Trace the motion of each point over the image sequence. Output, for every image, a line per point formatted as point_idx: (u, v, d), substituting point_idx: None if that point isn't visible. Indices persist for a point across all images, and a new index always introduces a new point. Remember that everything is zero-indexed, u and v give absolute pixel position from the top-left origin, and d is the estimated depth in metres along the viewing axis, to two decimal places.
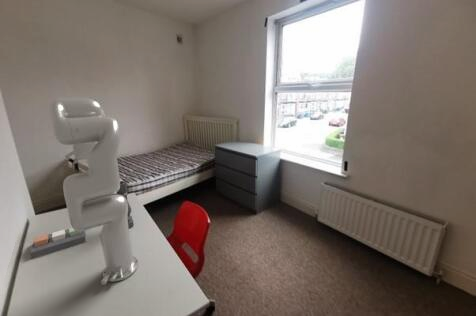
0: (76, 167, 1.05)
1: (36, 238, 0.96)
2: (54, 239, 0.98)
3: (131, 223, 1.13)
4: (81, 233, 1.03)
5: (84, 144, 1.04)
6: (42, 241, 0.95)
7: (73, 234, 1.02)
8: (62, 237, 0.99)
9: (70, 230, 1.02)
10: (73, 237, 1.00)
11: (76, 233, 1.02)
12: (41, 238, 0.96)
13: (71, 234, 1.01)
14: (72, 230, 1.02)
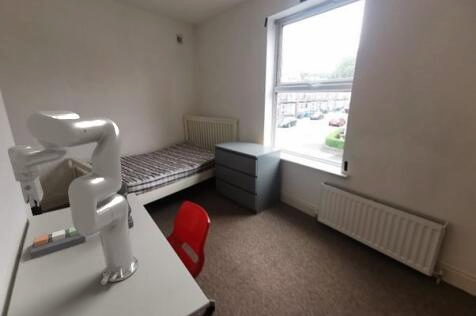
0: (38, 210, 0.93)
1: (36, 238, 0.96)
2: (54, 239, 0.98)
3: (131, 223, 1.13)
4: None
5: (38, 182, 0.91)
6: (42, 241, 0.95)
7: (73, 234, 1.02)
8: (62, 237, 0.99)
9: (70, 230, 1.02)
10: (73, 237, 1.00)
11: (76, 233, 1.02)
12: (41, 238, 0.96)
13: (71, 234, 1.01)
14: (72, 230, 1.02)
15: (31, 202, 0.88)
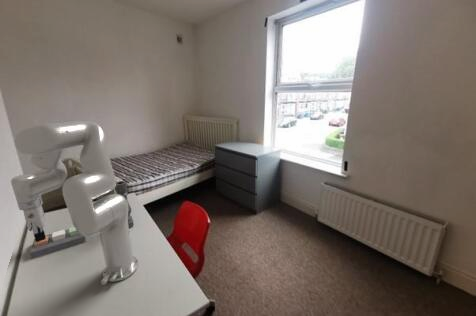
0: (41, 236, 0.96)
1: None
2: (54, 239, 0.98)
3: (131, 223, 1.13)
4: None
5: (41, 209, 0.94)
6: (42, 243, 0.95)
7: (73, 234, 1.02)
8: (62, 237, 0.99)
9: (70, 230, 1.02)
10: (73, 237, 1.00)
11: (76, 233, 1.02)
12: (41, 240, 0.96)
13: (71, 234, 1.01)
14: (72, 230, 1.02)
15: (34, 229, 0.90)
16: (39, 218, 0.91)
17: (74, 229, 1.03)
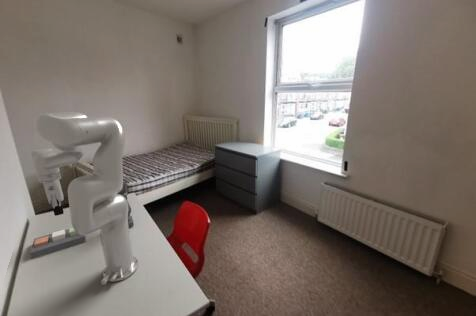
0: (60, 210, 0.98)
1: (37, 240, 0.96)
2: (54, 239, 0.98)
3: (131, 223, 1.13)
4: None
5: (59, 183, 0.96)
6: (43, 243, 0.95)
7: (73, 234, 1.02)
8: (62, 237, 0.99)
9: (70, 230, 1.02)
10: (73, 237, 1.00)
11: (76, 233, 1.02)
12: (41, 240, 0.96)
13: (71, 234, 1.01)
14: (72, 230, 1.02)
15: (54, 202, 0.92)
16: (59, 191, 0.93)
17: None
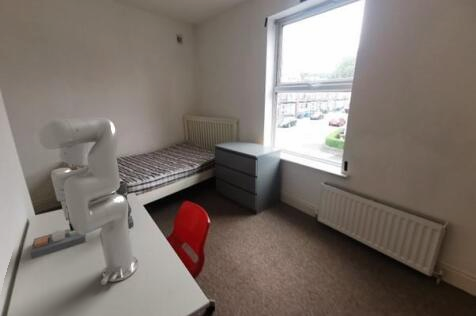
0: None
1: (37, 240, 0.96)
2: (54, 239, 0.98)
3: (131, 223, 1.13)
4: None
5: None
6: (43, 243, 0.95)
7: (73, 235, 1.02)
8: (62, 237, 0.99)
9: (70, 231, 1.02)
10: (73, 237, 1.00)
11: (76, 234, 1.02)
12: (41, 240, 0.96)
13: (71, 235, 1.01)
14: (72, 231, 1.02)
15: None
16: None
17: (74, 230, 1.03)
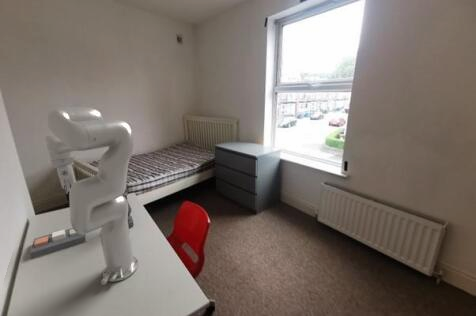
0: None
1: (37, 240, 0.96)
2: (54, 239, 0.98)
3: (131, 223, 1.13)
4: None
5: (72, 169, 0.96)
6: (43, 243, 0.95)
7: None
8: (62, 237, 0.99)
9: (70, 232, 1.02)
10: (73, 237, 1.00)
11: None
12: (41, 240, 0.96)
13: (71, 236, 1.01)
14: (72, 232, 1.02)
15: (68, 187, 0.92)
16: (72, 176, 0.93)
17: (74, 231, 1.03)
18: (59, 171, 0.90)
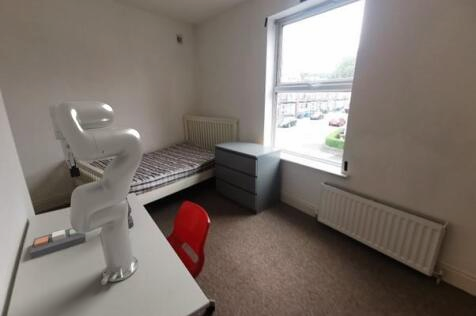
0: (77, 172, 0.93)
1: (37, 240, 0.96)
2: (54, 239, 0.98)
3: (131, 223, 1.13)
4: None
5: None
6: (43, 243, 0.95)
7: None
8: (62, 237, 0.99)
9: (70, 232, 1.02)
10: (73, 237, 1.00)
11: None
12: (41, 240, 0.96)
13: (71, 236, 1.01)
14: (72, 232, 1.02)
15: (71, 161, 0.88)
16: None
17: (74, 231, 1.03)
18: (63, 144, 0.85)
